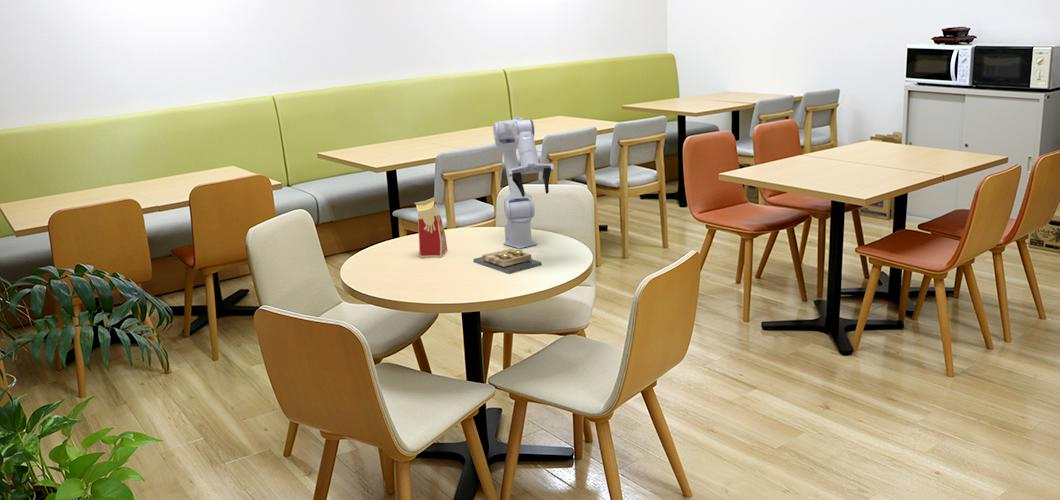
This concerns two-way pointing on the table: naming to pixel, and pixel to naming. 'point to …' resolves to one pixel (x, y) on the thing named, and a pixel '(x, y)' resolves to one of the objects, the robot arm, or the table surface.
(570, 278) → the table surface
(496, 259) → the panel
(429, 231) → the red snack bag
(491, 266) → the silver double slider board
